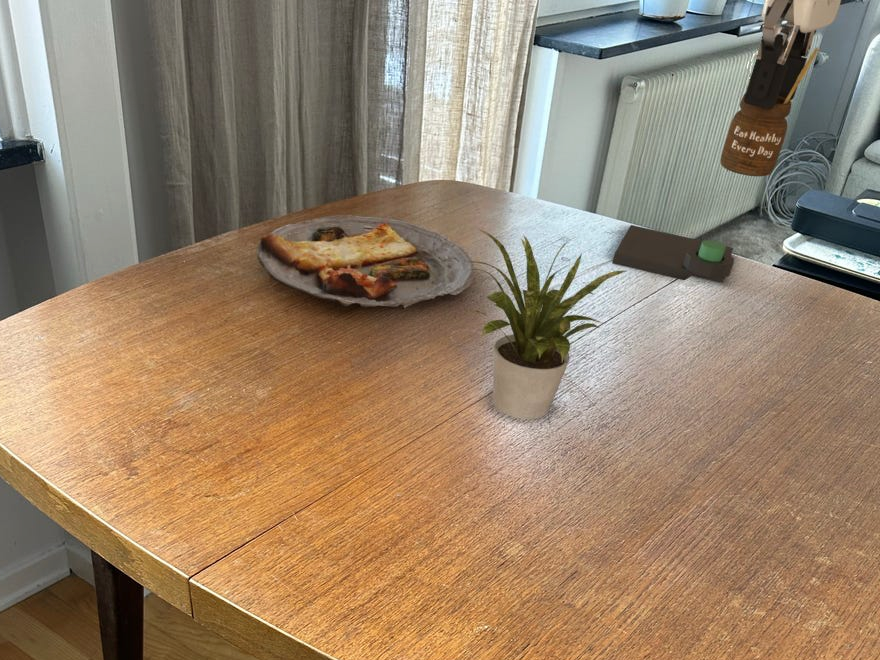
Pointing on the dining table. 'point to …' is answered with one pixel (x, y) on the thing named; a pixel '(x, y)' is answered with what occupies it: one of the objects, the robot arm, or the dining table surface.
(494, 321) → the house plant
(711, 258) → the button
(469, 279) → the food plate
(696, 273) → the green push button base
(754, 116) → the utensil holder
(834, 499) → the dining table surface
